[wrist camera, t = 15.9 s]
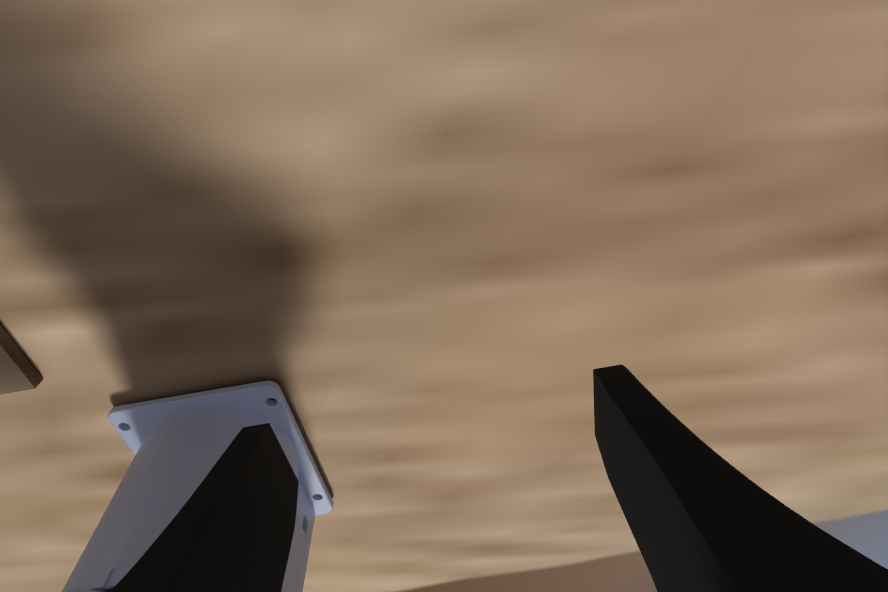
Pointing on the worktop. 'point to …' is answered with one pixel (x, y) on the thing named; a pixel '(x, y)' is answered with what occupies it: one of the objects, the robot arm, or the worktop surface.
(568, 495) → the worktop surface
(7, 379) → the clipboard
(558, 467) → the worktop surface
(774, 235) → the worktop surface
